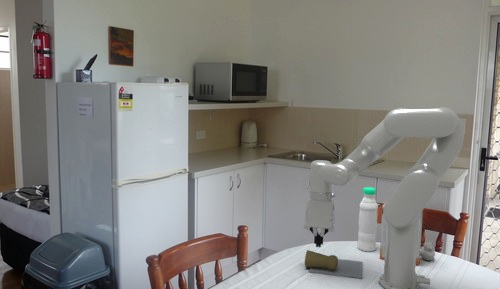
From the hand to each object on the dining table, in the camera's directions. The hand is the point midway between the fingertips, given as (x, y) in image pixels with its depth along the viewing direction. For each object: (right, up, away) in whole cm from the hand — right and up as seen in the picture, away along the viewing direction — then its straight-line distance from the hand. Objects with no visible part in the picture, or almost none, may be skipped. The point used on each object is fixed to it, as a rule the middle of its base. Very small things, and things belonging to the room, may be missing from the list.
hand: (318, 245), depth 151 cm
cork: (-4, -5, +1) cm, 7 cm away
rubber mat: (+7, -8, +1) cm, 11 cm away
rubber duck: (+43, -8, +10) cm, 45 cm away
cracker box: (+32, -8, +9) cm, 34 cm away
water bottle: (+23, -6, +20) cm, 31 cm away
